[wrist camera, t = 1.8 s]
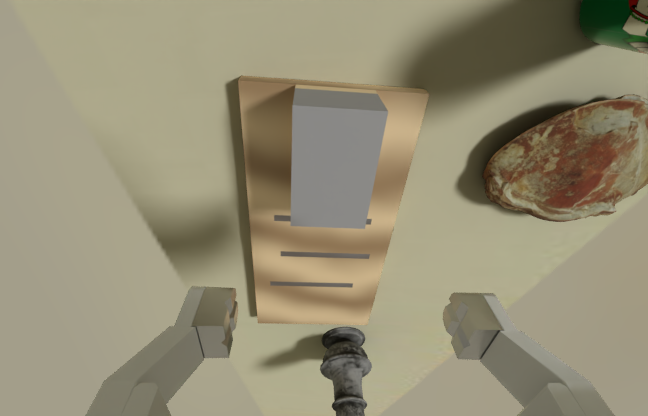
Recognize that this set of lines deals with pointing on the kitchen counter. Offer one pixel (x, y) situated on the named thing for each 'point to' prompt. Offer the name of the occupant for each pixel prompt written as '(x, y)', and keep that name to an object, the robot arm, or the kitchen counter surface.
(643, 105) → the oyster shell
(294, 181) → the block
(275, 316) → the board
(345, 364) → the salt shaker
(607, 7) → the soda can
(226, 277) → the kitchen counter surface
